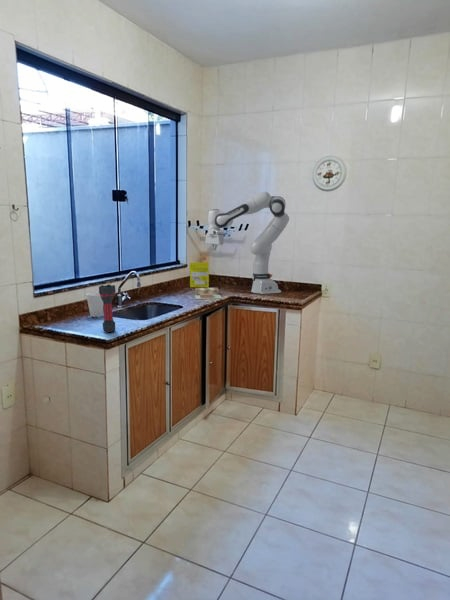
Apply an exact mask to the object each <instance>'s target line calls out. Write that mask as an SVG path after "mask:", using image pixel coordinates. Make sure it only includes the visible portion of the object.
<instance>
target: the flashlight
mask: <svg viewBox="0 0 450 600" xmlns="http://www.w3.org/2000/svg"><path fill="white" fill-rule="evenodd" d="M98 293H99V294H100V296H101V299H102V301H103V322H102V329H103V330H104V331H105V332H107V333H109V332H112V333H114V332H113V331H115V332H116V321H114V317H113V315H114V313H113V300H114V298H115V296H116V285H115V284H113V285H111V284H107V285H103V284H101V285H99V286H98ZM103 330H102V331H103ZM104 331H103V332H104ZM105 332H104V333H105Z"/></svg>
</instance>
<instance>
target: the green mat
mask: <svg viewBox="0 0 450 600" xmlns="http://www.w3.org/2000/svg"><path fill="white" fill-rule="evenodd" d="M194 298H195V300H217V299H218V300H219V299H220V300H221V299H223V297H222V296H221V295H220V294H219V295H213V298H200V295H196V294H195V295H194Z"/></svg>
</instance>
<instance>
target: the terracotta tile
mask: <svg viewBox="0 0 450 600" xmlns="http://www.w3.org/2000/svg"><path fill="white" fill-rule="evenodd" d="M200 298H213V293H210V294H200Z"/></svg>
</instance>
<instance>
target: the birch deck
mask: <svg viewBox="0 0 450 600" xmlns="http://www.w3.org/2000/svg"><path fill="white" fill-rule="evenodd" d="M194 289H195V290H194V291H195V295H200V294H210V293H213V295H220V294H219V289H218V287H194Z"/></svg>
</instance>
